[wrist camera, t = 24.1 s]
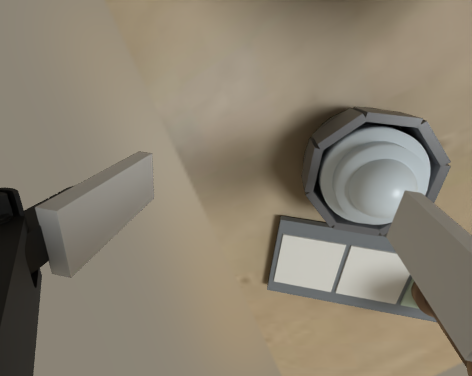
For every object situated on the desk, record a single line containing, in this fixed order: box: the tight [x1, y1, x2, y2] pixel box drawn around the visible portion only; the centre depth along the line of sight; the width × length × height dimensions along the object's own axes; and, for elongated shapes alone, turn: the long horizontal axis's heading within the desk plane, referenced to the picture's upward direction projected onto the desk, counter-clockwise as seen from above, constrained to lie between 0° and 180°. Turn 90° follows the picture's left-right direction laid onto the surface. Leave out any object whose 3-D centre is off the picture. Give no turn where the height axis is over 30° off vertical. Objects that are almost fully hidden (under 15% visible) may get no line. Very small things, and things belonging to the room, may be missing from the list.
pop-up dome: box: [317, 124, 431, 225], centre depth 18 cm, size 7×7×6 cm
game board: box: [267, 216, 437, 322], centre depth 26 cm, size 9×20×1 cm, turn 85°
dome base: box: [301, 107, 451, 236], centre depth 21 cm, size 9×9×4 cm
